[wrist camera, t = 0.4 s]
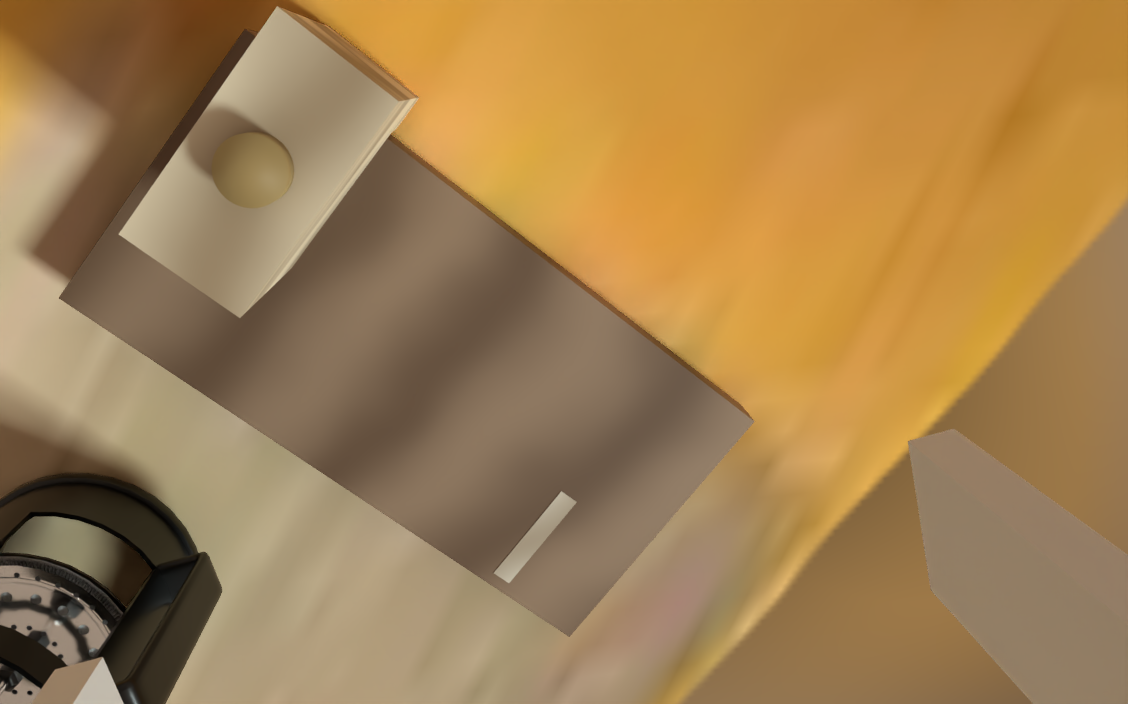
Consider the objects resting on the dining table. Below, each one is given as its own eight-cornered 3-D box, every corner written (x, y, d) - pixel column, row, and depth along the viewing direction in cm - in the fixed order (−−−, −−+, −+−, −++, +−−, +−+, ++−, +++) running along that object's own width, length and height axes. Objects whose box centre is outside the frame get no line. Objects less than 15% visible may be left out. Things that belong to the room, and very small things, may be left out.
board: (80, 287, 38) (58, 298, 36) (257, 31, 36) (245, 28, 34) (565, 612, 43) (569, 637, 41) (741, 405, 41) (754, 421, 39)
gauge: (208, 197, 36) (105, 239, 26) (329, 26, 35) (269, 3, 25) (298, 262, 37) (231, 326, 27) (419, 97, 36) (395, 101, 26)
